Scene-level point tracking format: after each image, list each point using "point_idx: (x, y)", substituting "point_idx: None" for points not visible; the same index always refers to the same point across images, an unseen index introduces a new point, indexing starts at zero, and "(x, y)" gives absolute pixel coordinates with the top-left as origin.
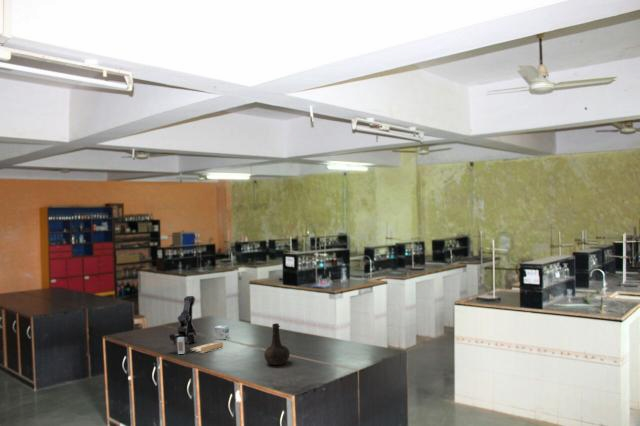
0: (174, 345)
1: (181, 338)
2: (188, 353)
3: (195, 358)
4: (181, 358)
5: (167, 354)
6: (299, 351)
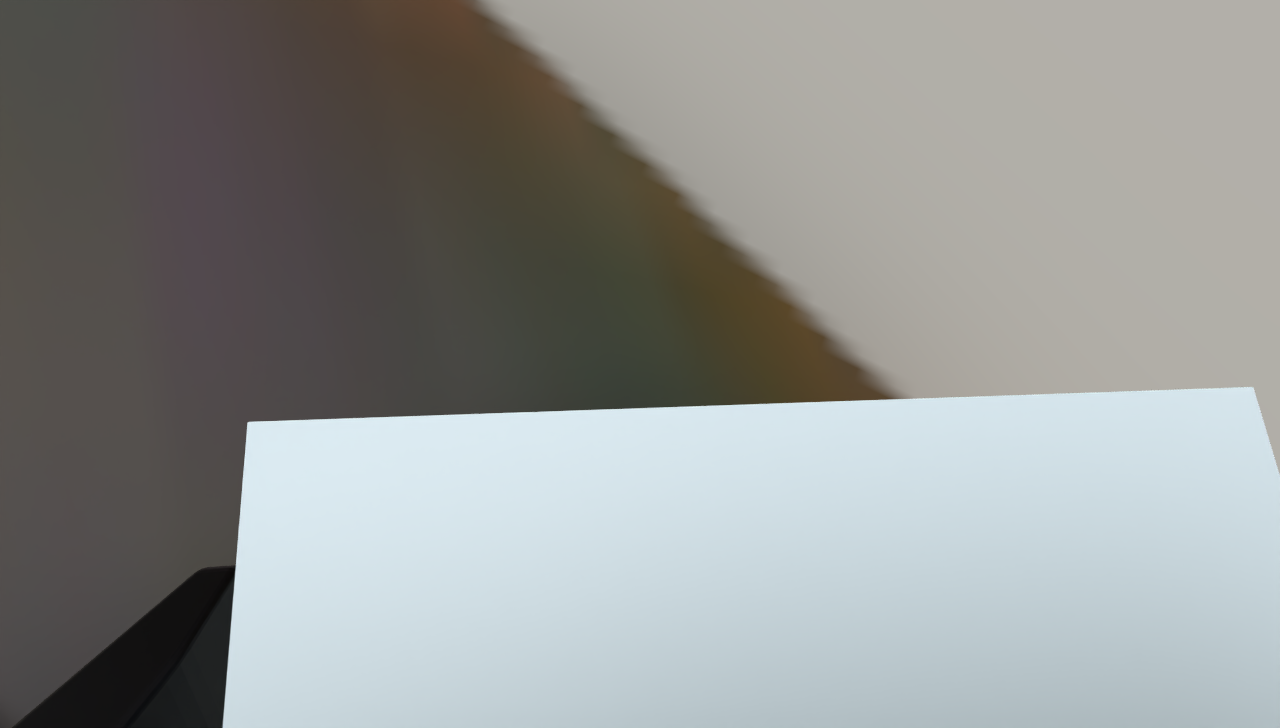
0: None
1: (592, 421)
2: None
3: (6, 20)
4: (466, 120)
5: None
6: None
